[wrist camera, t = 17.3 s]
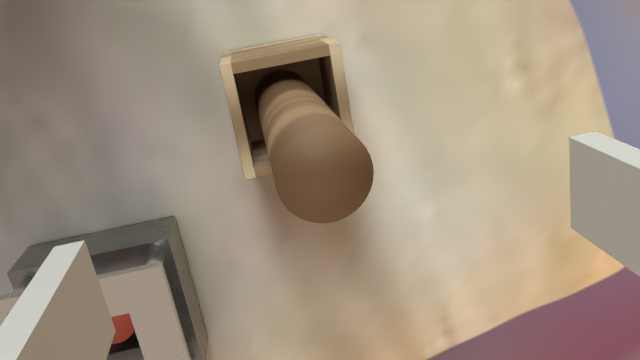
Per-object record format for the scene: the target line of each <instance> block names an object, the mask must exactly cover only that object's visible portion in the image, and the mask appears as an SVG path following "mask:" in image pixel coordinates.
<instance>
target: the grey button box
mask: <svg viewBox="0 0 640 360" xmlns="http://www.w3.org/2000/svg"><path fill="white" fill-rule="evenodd" d="M83 240H85V243H86V246H87V248H88V251H89V254H90V257H91V260H92V263H93V266H94V269H95V272H96V275H97V278H98V281H99V283H100V286H101V289H102V292H103V295H104V298H105V301H106V304H107V307H108V310H109V313H110V316H111V317H113V316H118V315H122V314H127V313H129V314H130V317H131V320H132V323H133V327H134V332H133V334H132V335H131V336H130V337H129V338H128V339H127V340H125V341H123V342H121V343H117V344H111V347H110V350H109V353H108V356H107V359H106V360H206V354H207V341H208V335H207V331H206V328H205V324H204V320H203V317H202V313H201V310H200V306H199V302H198V299H197V295H196V291H195V288H194V284H193V281H192V277H191V273H190V270H189V266H188V262H187V259H186V255H185V252H184V248H183V244H182V241H181V237H180V234H179V230H178V226H177V223H176V219H175V216H172V217H167V218H162V219H157V220H153V221H148V222H143V223H138V224H133V225H129V226H124V227H119V228H114V229H110V230H105V231H100V232H95V233H90V234H86V235H81V236H76V237H71V238H67V239H62V240H57V241H52V242H48V243H43V244H38V245H33V246H29V247H28V248H27V250H26V251H25V252H24V253H23V255H22V256H21V257H20V258H19V259H18V261H17V262H16V263H15V264H14V266H13V267H12V268H11V269H10V271H9V272H8V273H7V274H8V276H9V279H10V281H11V284H12V286H13V289H14V291H13V292H12V293H11V294H8V295H3V296H0V326H1V325H2V323H3V322H4V320H5V319H6V317H7V316H8V314H9V313H10V311H11V310H12V308H13V307H14V305H15V304H16V302H17V301H18V299H19V298H20V296H21V295H22V293H23V292H24V291H25V289H26V288H27V286H28V285H29V283H30V282H31V280H32V279H33V277H34V276H35V274H36V273H37V271H38V270H39V268H40V267H41V265H42V264H43V262H44V261H45V259H46V258H47V257H48V255H49V254H50V252H51V251H52V249H53V248H54V247H55V246H60V245H64V244H69V243H74V242H79V241H83Z"/></svg>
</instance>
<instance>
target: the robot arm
mask: <svg viewBox="0 0 640 360" xmlns="http://www.w3.org/2000/svg"><path fill="white" fill-rule="evenodd" d="M569 154H570V201H571V228H572V229H573V230H575V231H576V232H578V233H579V234H580V235H582V236H583V237H585V238H586V239H588V240H589V241H590V242H592V243H593V244H595V245H596V246H597V247H599V248H600V249H602V250H603V251H604V252H606V253H607V254H609V255H610V256H611V257H613V258H614V259H616V260H617V261H619V262H620V263H621V264H623V265H624V266H626V267H627V268H628V269H630V270H631V271H633V272H634V273H636V274H637V275H638V276H640V149H638V148H635V147H633V146H630V145H628V144H625V143H623V142H620V141H618V140H615V139H613V138H610V137H607V136H605V135H602V134H600V133H597V132H591V133H587V134H582V135H577V136H573V137H569ZM115 332H116V330H115V327H114V324H113V321H112V318H111V316H110V313H109V310H108V307H107V304H106V301H105V298H104V295H103V292H102V289H101V286H100V283H99V281H98V278H97V275H96V272H95V269H94V266H93V263H92V260H91V257H90V254H89V251H88V248H87V246H86V243H85V240H83V241H79V242H74V243H69V244H64V245H60V246H55V247H54V248H53V249H52V251H51V252H50V254H49V255H48V257H47V258H46V259H45V261H44V262H43V264H42V265H41V267H40V268H39V270H38V271H37V273H36V274H35V276H34V277H33V279H32V280H31V282H30V283H29V285H28V286H27V288H26V289H25V291H24V292H23V293H22V295H21V296H20V298H19V299H18V301H17V302H16V304H15V305H14V307H13V308H12V310H11V311H10V313H9V314H8V316H7V317H6V319H5V320H4V322H3V323H2V325H1V326H0V360H106V359H107V356H108V353H109V350H110V347H111V344H112V341H113V338H114V335H115Z"/></svg>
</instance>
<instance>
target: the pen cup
mask: <svg viewBox="0 0 640 360" xmlns="http://www.w3.org/2000/svg"><path fill="white" fill-rule="evenodd" d="M220 70H221V74H222V78H223V83H224V87H225V92H226V96H227V100H228V105H229V109H230V114H231V118H232V122H233V127H234V131H235V136H236V140H237V145H238V149H239V153H240V158H241V162H242V167H243V171H244V175H245V180H247V179H252V178H256V177H261V176H266V175H271V174H273V173H272V168H271V164H270V160H269V156H268V152H267V148H266V144H265V139H264V135H263V131H262V127H261V123H260V119H259V115H258V111H257V106H256V102H255V92H256V88H257V85H258V84H259V82H260V81H261V79H262V78H263V77H264V76H265V75H267V74H268V73H270V72H272V71H275V70H290V71H293V72H295V73H297V74H298V75H299V76H301V77H302V78H303V79H304V80H305V82H306V83H307V84H308V85H309V86H310V87H311V88H312V89H313V90H314V91H315V92H316V94H317V95H318V96H319V97H320V98H321V99H322V100H323V101H324V102H325V103H326V104H327V106H328V107H329V108H330V109H331V110H332V111H333V112H334V113H335V114H336V115H337V116H338V117H339V119H340V120H341V121H342V122H343V123H344V124H345V125H346V126H347V127H348V128H349V129H350V131H351V132H352V133H353V134H354V132H353V126H352V119H351V113H350V106H349V100H348V94H347V87H346V81H345V74H344V68H343V62H342V55H341V49H340V42H338V41H336V40H334V39H332V38H329V37H327V36H325V35H323V34H319V35H313V36H308V37H303V38H298V39H292V40H287V41H282V42H276V43H271V44H266V45H260V46H255V47H250V48H245V49H239V50H234V51H229V52H223V53H222V56H221V61H220Z"/></svg>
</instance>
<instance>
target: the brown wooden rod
mask: <svg viewBox="0 0 640 360" xmlns="http://www.w3.org/2000/svg"><path fill="white" fill-rule="evenodd" d="M255 102H256V106H257V111H258V115H259V119H260V123H261V127H262V131H263V135H264V139H265V144H266V148H267V152H268V156H269V160H270V164H271V168H272V173H273V177H274V181H275V185H276V189H277V192H278V195H279V197H280V199H281V201H282V202H283V204H284V205H285V206H286V207H287V209H288V210H290V211H291V212H292V213H293V214H295V215H296V216H298V217H300V218H302V219H304V220H307V221H310V222H316V223H328V222H334V221H337V220H340V219H343V218H345V217H347V216H348V215H350V214H352V213H353V212H354V211H356V210H357V209H358V208H359V207H360V206H361V205H362V203H363V202H364V201H365V199H366V198H367V196H368V194H369V192H370V189H371V186H372V182H373V164H372V160H371V157H370V155H369V153H368V151H367V149H366V148H365V146H364V145H363V144H362V142H361V141H360V140H359V139H358V138H357V137H356V136H355V135H354V134H353V133H352V132H351V131H350V129H349V128H348V127H347V126H346V125H345V124H344V123H343V122H342V121H341V120H340V119H339V117H338V116H337V115H336V114H335V113H334V112H333V111H332V110H331V109H330V108H329V107H328V106H327V104H326V103H325V102H324V101H323V100H322V99H321V98H320V97H319V96H318V95H317V94H316V92H315V91H314V90H313V89H312V88H311V87H310V86H309V85H308V84H307V83H306V82H305V80H304V79H303V78H302V77H301V76H299V75H298V74H297V73H295V72H293V71H290V70H275V71H272V72H270V73H268V74H267V75H265V76H264V77H263V78H262V79H261V81H260V82H259V84H258V85H257V88H256V92H255Z"/></svg>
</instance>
